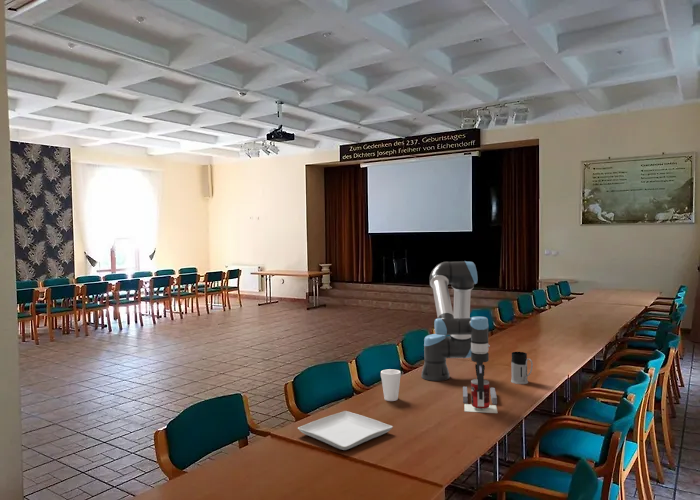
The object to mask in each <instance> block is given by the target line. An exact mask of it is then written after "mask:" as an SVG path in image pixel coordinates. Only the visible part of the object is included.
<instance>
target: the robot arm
mask: <svg viewBox="0 0 700 500" xmlns="http://www.w3.org/2000/svg"><path fill="white" fill-rule="evenodd" d="M478 278H479V277H478V271H477V267H476V264H475V263H474V262H473V261H466V260H464V261H463V260H461V261H443V262H440V263H438V264H436V266H435V267H434V268H433V269H432V270H431V272H430V274H429V286H430V287H431V288H432V293H433V298H434V305H435V310H436V316H437V318H435V319H434V323H433V324H434V333H432V334H427V335H426V336H425V337H424V339H423V341H424V344H423V346H424V347H423V348H424V349H423V351H424V354H423V355H424V363H423V366H422V370H421V378H422V379H424V380H427V381H432V382H433V381H435V382H438V381H439V382H440V381H441V382H442V381H446V380H449V379H450V372H449V368H448V365H447V359H469V358H470V359H471V361H472V362H474V363H475V365H474V366H475V373H476V375H475V376H476V379H478V390H476V392H477V394H478V406H481V407H484V380H485V379H484V376H485V369H486V366H485V364H484V363H488V362H489V361H490V360H489V357H490V356H489V347H491V345H490V344H489V326H490V325H489V319H488V317H486V316H471V315H470V314H471V294H472V293H471V291H472V290H473V289H474V287H475V285H476V284H478ZM448 285H451V286H450V287H451V288H452V289H453V307H452V301H451V296H450V291H449V286H448ZM470 316H471V317H470Z"/></svg>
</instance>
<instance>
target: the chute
mask: <svg viewBox="0 0 700 500" xmlns="http://www.w3.org/2000/svg"><path fill="white" fill-rule="evenodd" d="M489 395H490V399H491V403H492V404H490V405H489V407H488V408H476V407H473V406H472V403H468V400H469V399H468V386H462V403H464V410H463V411H464V412H465V413H469V412H470V413H485V414H486V413H487V414H499V413H498V408H497V405H498V397H497V392H496V388H495V387H489Z"/></svg>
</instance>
